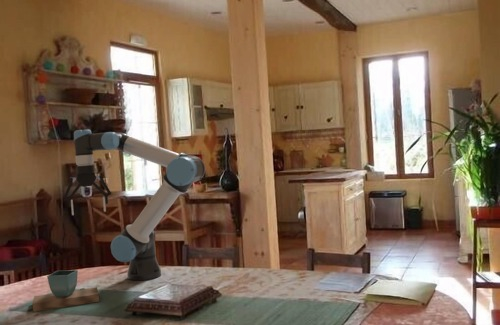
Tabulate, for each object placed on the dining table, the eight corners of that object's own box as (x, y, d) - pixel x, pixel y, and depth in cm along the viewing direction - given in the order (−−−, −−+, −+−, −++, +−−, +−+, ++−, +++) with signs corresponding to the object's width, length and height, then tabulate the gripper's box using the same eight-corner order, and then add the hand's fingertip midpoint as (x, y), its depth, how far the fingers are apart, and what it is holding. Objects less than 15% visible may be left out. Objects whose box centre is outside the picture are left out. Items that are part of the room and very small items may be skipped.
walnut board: (97, 294, 231) (96, 287, 231) (99, 301, 219) (98, 293, 219) (34, 303, 223) (34, 296, 223) (33, 311, 212) (32, 303, 212)
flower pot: (70, 298, 216) (68, 274, 215) (48, 298, 217) (46, 275, 217) (80, 292, 224) (78, 269, 224) (59, 292, 226) (57, 270, 225)
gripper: (113, 162, 254) (117, 209, 255) (55, 167, 247) (59, 215, 247) (114, 162, 247) (118, 210, 248) (54, 167, 240) (59, 217, 240)
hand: (89, 213), depth 248 cm, fingers open, 13 cm apart
